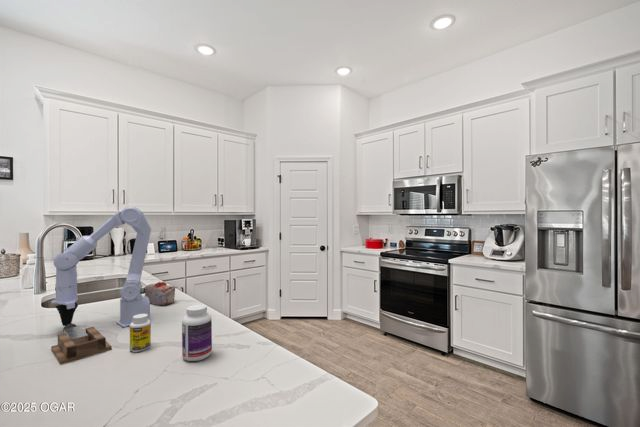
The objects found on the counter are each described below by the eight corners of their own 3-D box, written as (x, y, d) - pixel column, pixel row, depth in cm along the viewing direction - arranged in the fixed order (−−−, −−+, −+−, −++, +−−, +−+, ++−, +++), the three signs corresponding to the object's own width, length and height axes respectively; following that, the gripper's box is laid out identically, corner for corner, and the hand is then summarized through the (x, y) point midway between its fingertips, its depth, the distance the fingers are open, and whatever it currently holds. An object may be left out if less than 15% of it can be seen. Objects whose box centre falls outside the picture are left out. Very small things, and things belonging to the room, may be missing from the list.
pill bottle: (217, 352, 90) (217, 304, 90) (198, 365, 83) (198, 313, 83) (195, 348, 93) (195, 301, 93) (175, 360, 85) (175, 309, 85)
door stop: (62, 335, 101) (62, 325, 101) (77, 332, 104) (77, 321, 104) (72, 349, 91) (72, 337, 91) (88, 344, 94) (88, 333, 94)
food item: (178, 302, 140) (178, 281, 140) (163, 307, 133) (163, 285, 133) (156, 299, 145) (156, 279, 145) (141, 304, 138) (141, 282, 138)
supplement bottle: (129, 354, 89) (129, 320, 89) (129, 347, 93) (129, 314, 93) (151, 349, 92) (151, 316, 92) (150, 343, 96) (149, 311, 96)
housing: (51, 349, 92) (51, 336, 92) (98, 337, 101) (98, 325, 101) (60, 364, 83) (60, 350, 83) (111, 349, 92) (111, 336, 92)
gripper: (48, 285, 107) (48, 323, 107) (55, 292, 98) (55, 333, 98) (73, 281, 113) (73, 317, 113) (82, 288, 103) (82, 327, 103)
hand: (66, 324), depth 106 cm, fingers closed
